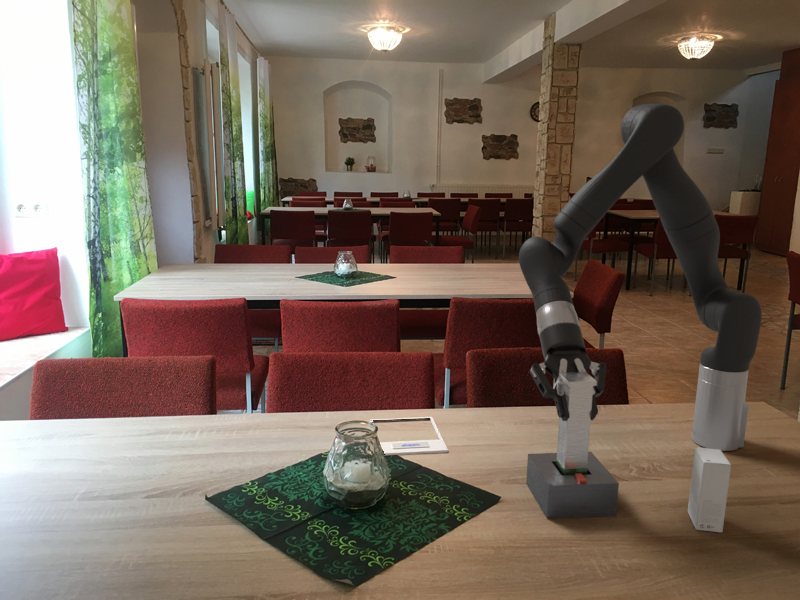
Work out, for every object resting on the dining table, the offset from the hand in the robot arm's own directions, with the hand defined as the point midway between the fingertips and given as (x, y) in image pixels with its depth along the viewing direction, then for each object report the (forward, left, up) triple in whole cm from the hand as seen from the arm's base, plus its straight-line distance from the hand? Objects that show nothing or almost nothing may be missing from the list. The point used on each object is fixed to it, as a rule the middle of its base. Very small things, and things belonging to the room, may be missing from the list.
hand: (579, 418), depth 108 cm
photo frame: (+26, -31, -17) cm, 44 cm away
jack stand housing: (0, -2, -16) cm, 16 cm away
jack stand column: (0, -2, -11) cm, 11 cm away
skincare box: (-20, +7, -16) cm, 27 cm away
